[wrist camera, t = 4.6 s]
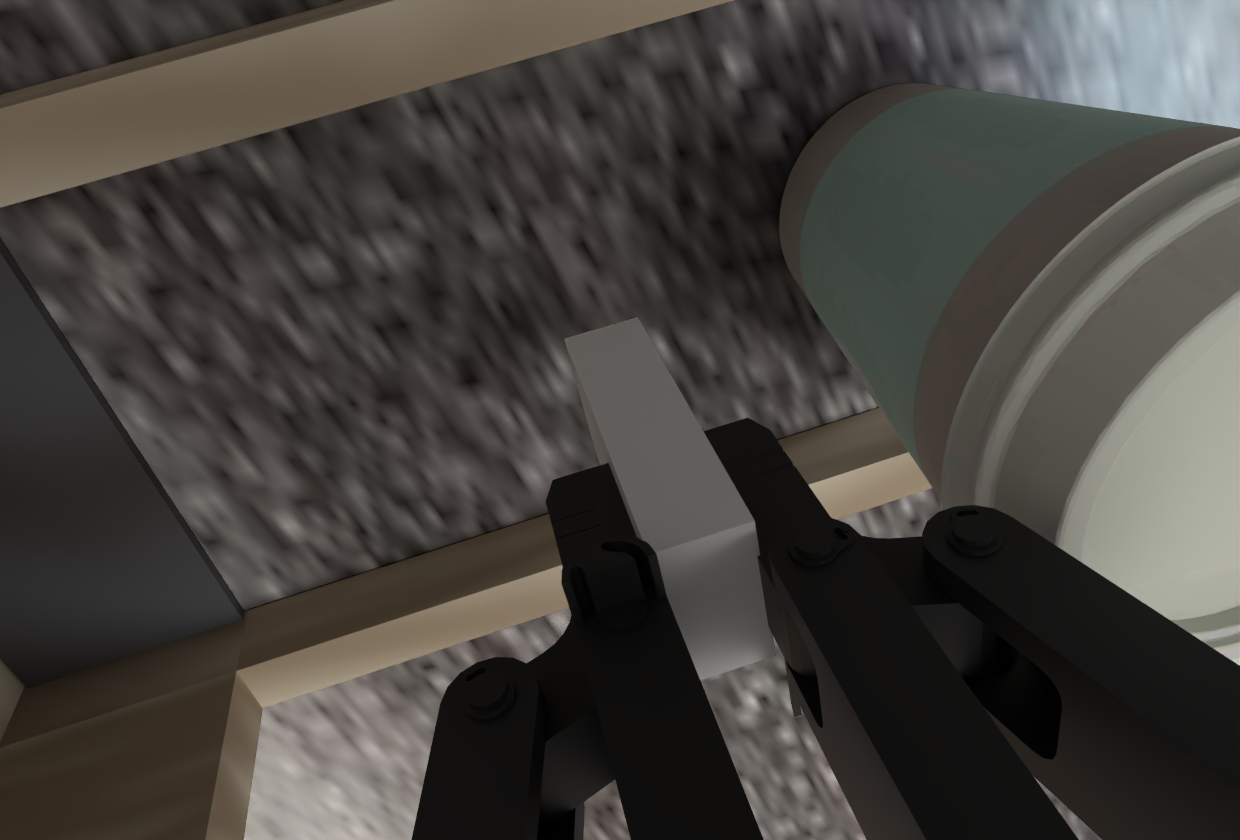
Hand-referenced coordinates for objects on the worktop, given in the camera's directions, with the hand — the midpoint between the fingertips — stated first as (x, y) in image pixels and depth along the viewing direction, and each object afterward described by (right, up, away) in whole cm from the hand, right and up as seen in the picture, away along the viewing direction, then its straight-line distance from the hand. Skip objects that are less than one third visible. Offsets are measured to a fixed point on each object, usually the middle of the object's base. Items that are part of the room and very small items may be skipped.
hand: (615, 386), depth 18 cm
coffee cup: (+7, +5, +4) cm, 9 cm away
